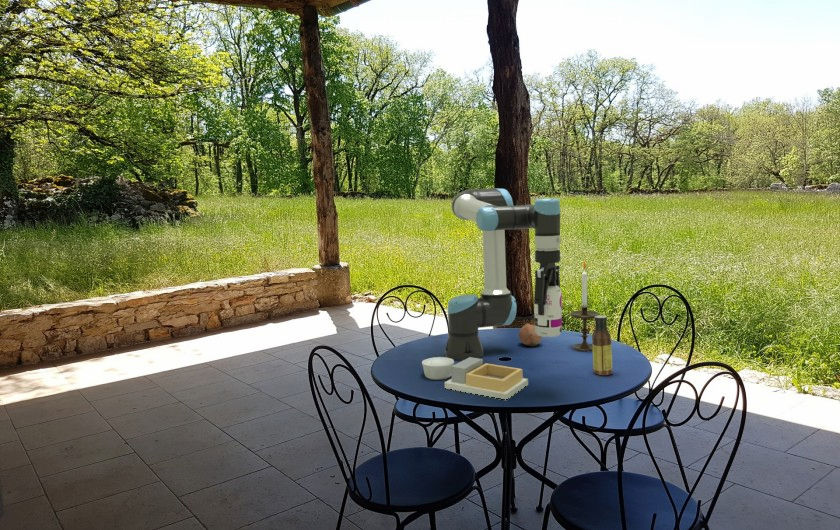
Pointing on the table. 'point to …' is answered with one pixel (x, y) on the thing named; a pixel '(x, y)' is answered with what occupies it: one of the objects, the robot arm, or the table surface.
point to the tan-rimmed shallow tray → (486, 379)
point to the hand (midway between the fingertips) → (548, 322)
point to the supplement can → (551, 314)
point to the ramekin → (438, 367)
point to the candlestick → (584, 316)
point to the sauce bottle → (601, 347)
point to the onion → (529, 335)
